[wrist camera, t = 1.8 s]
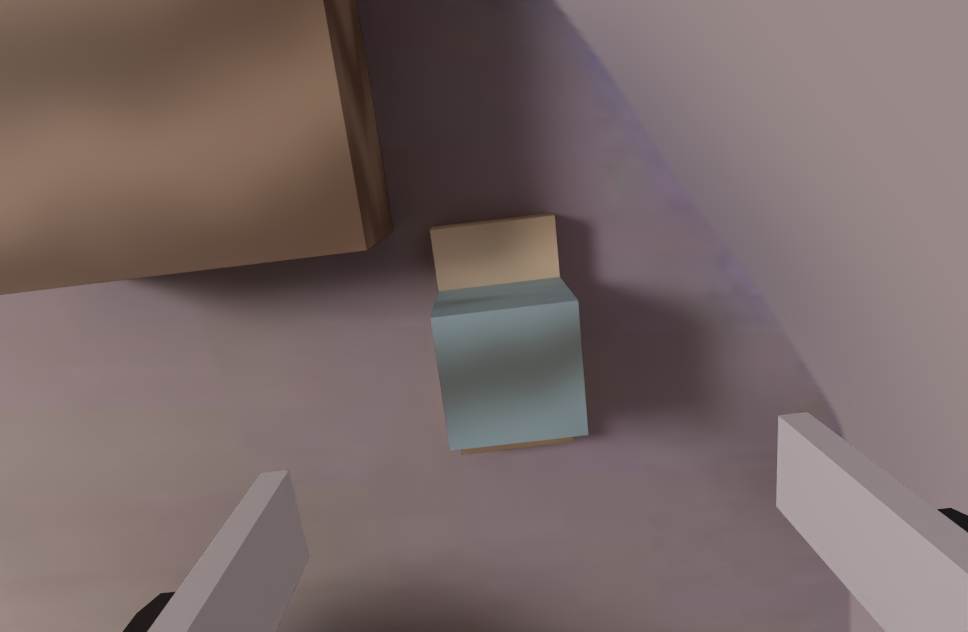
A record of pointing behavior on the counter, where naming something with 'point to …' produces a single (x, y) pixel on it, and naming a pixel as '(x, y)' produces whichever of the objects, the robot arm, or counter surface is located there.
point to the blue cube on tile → (506, 336)
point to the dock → (182, 138)
